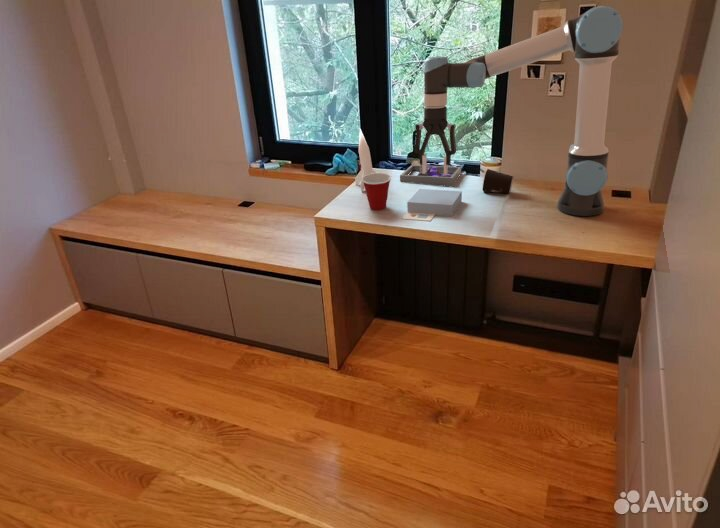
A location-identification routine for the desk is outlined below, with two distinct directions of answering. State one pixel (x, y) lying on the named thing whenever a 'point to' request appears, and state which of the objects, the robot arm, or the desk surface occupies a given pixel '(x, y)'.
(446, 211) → the base brick
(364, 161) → the rocket
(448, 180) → the tray
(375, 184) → the plastic cup
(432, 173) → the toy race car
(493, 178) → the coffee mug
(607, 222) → the desk surface
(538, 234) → the desk surface
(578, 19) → the robot arm
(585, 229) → the desk surface
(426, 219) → the page
